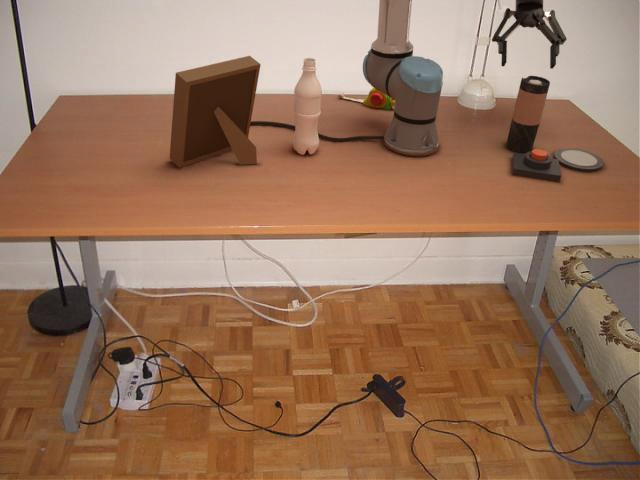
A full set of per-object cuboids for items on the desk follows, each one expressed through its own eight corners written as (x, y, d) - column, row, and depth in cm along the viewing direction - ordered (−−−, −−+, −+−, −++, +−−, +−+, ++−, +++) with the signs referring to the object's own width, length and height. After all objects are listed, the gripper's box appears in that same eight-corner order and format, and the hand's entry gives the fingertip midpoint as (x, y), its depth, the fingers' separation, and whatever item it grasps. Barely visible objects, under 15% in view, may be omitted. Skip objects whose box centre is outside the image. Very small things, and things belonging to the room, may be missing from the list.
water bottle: (322, 149, 175) (328, 58, 161) (311, 159, 170) (316, 66, 156) (299, 143, 177) (303, 53, 164) (287, 152, 172) (290, 61, 158)
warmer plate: (555, 168, 173) (556, 164, 173) (552, 148, 184) (553, 144, 183) (605, 175, 171) (606, 172, 171) (599, 155, 182) (600, 151, 181)
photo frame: (169, 161, 164) (162, 66, 150) (237, 139, 177) (235, 49, 163) (204, 183, 155) (199, 84, 141) (272, 158, 168) (273, 65, 155)
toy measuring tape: (392, 113, 199) (395, 93, 195) (335, 100, 205) (337, 80, 202) (399, 107, 204) (402, 87, 200) (343, 94, 210) (345, 75, 206)
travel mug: (533, 155, 179) (551, 86, 168) (505, 151, 180) (522, 83, 169) (531, 144, 185) (549, 77, 174) (504, 140, 186) (520, 74, 175)
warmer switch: (512, 175, 168) (515, 161, 166) (511, 159, 177) (515, 145, 174) (559, 182, 166) (563, 168, 164) (556, 165, 175) (560, 152, 172)
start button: (530, 160, 168) (532, 154, 167) (530, 154, 171) (531, 148, 170) (546, 162, 168) (547, 156, 167) (545, 156, 171) (547, 150, 170)
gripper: (569, 4, 186) (568, 73, 183) (482, 0, 187) (480, 69, 184) (578, -10, 179) (578, 61, 175) (488, -14, 180) (486, 57, 177)
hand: (528, 65), depth 180 cm, fingers open, 13 cm apart
